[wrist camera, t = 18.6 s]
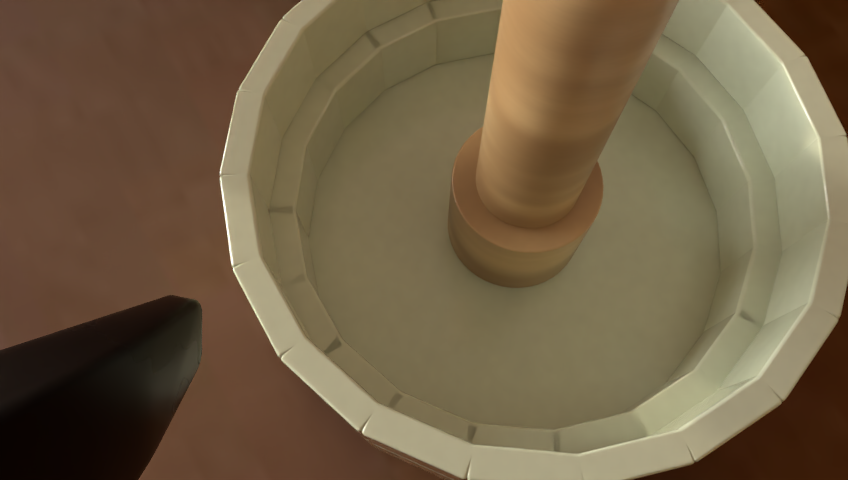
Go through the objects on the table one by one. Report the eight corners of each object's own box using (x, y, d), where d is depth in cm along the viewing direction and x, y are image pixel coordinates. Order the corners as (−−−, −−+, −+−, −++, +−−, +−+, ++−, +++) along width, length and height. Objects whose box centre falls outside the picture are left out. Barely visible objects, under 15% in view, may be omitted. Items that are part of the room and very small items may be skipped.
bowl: (558, 618, 17) (609, 664, 12) (167, 255, 20) (89, 183, 16) (846, 211, 21) (970, 127, 16) (477, -38, 24) (490, -167, 19)
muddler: (599, 265, 19) (837, -52, 8) (472, 305, 19) (542, 29, 8) (549, 151, 21) (697, -257, 10) (430, 187, 20) (436, -197, 9)
